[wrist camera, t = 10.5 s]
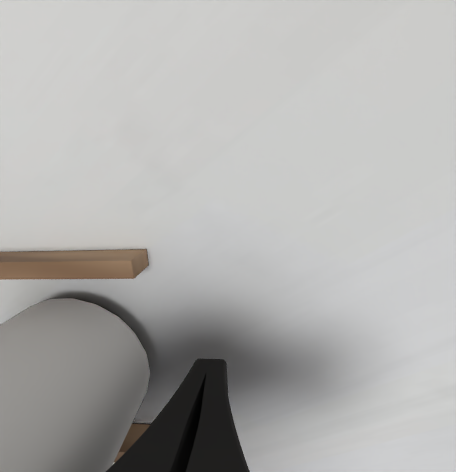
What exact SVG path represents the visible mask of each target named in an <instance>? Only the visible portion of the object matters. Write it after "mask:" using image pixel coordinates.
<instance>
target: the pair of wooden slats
mask: <svg viewBox="0 0 456 472" xmlns="http://www.w3.org/2000/svg"><path fill="white" fill-rule="evenodd" d="M148 265H149V264H148V257H147V250H146V249H138V250H83V251H29V252H0V279H134V278H135V277H136V276H137V275H139V274H140V273H141V272H142V271H143V270H144V269H145V268H146V267H147V266H148ZM149 426H150V425H149V424H131V426H130V429H129V431H128V433H127V435H126V437H125V439H124V441H123V443H122V446H121V448H120V450H119V452H118V454H117V456H116V458H115V461H114V462H116V461H117V460H118V459H119V458H120V457H121V456H122V455H123V454H124V453H125V452H126V451H127V450H128V449H129V448H130V447H131V446H132V445H133V444H134V443H135V442H136V441H137V440H138V438H139V437H140V436H141V435H142V434H143V433H144V432H145V431H146V430H147V428H148V427H149Z"/></svg>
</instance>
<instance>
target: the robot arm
mask: <svg viewBox="0 0 456 472" xmlns="http://www.w3.org/2000/svg"><path fill="white" fill-rule="evenodd" d="M106 472H250V471H249V469H248V466H247V463H246V460H245V457H244V454H243V451H242V449H241V445H240V442H239V439H238V436H237V432H236V428H235V425H234V421H233V417H232V413H231V408H230V404H229V398H228V385H227V366H226V361H225V360H223V359H197V360H196V361H195V363H194V365H193V366H192V368H191V370H190V371H189V373H188V375H187V376H186V378H185V379H184V381H183V382H182V384H181V385H180V387H179V388H178V390H177V391H176V392H175V394H174V395H173V397H172V398H171V399H170V401H169V402H168V403H167V405H166V406H165V407H164V409H163V410H162V411H161V412H160V414H159V415H158V416H157V418H156V419H155V420H154V421H153V422H152V424H151V425H150V426H149V427H148V428H147V430H146V431H145V432H144V433H143V434H142V435H141V436H140V437H139V438H138V440H137V441H136V442H135V443H134V444H133V445H132V446H131V447H130V448H129V449H128V450H127V451H126V452H125V453H124V454H123V455H122V456H121V457H120V458H119V459H118V460H117V461H116V462H115V463H114V464H113V465H112V466H111V467H110V468H109V469H108V470H107V471H106Z"/></svg>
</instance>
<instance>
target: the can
mask: <svg viewBox="0 0 456 472" xmlns="http://www.w3.org/2000/svg"><path fill="white" fill-rule="evenodd" d="M149 378H150V369H149V364H148V359H147V354H146V352H145V350H144V348H143V346H142V345H141V343H140V341H139V339H138V338H137V336H136V334H135V333H134V332H133V331H132V329H131V328H130V327H129V326H128V325H127V324H126V323H125V322H124V321H123V320H122V319H121V318H120V317H118V316H116V315H115V314H113V313H111V312H109V311H108V310H106V309H104V308H102V307H100V306H98V305H96V304H93V303H89V302H85V301H81V300H77V299H73V298H64V299H48V300H46V301H43V302H41V303H38V304H36V305H33V306H30V307H29V308H27V309H26V310H24V311H22V312H21V313H19V314H17V315H16V316H14V317H12V318H11V319H9V320H8V321H6V322H4V323H3V324H1V325H0V472H106V471H107V470H108V469H109V468H110V467H111V466H112V465H113V463H114V461H115V458H116V456H117V454H118V452H119V450H120V448H121V446H122V443H123V441H124V439H125V437H126V435H127V433H128V431H129V429H130V426H131V424H132V422H133V420H134V418H135V416H136V414H137V412H138V409H139V407H140V405H141V403H142V401H143V399H144V397H145V394H146V392H147V389H148V384H149Z"/></svg>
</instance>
